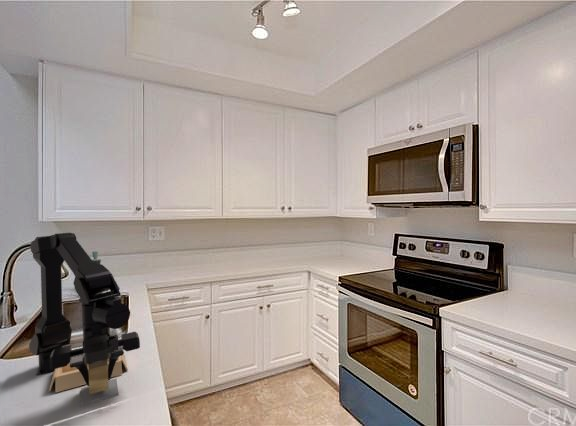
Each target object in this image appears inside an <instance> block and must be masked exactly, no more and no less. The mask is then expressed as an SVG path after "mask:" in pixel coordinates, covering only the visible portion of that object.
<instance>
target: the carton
mask: <svg viewBox="0 0 576 426" xmlns="http://www.w3.org/2000/svg"><path fill="white" fill-rule="evenodd" d="M107 362H108V364H109V358H108V359H107ZM122 365H123V366H124V368H125V370H126V371H128V370H129V368H128V364H127V360H126V355H125V353H124V354H123V355H122V356H119V358H118V359H117V361H116V363H115V366H114V369H113V372H112V375H111V378H114V377H117V376H121V375H123V369H122V368H123V366H122ZM87 367H88V368H89V364H87ZM88 372H89V371H88ZM54 383H55V385H54V388H55V393H59V392H62V391H66V390H70V389H73V388H77V387H80V386H83V385H84V386H85V385H87V384H86V382H85V380H84V378H83V376H82V374H81V372H80V371H79V370H78V369H77V368H76V367H73V368H70V363H69V364H68V365H67V366H65V367H61V368H58V369H57V368H56V369H55V370H54V371H53V372H52V378H51V382H50V386H49V390H48V392H51V390H52V388H53V384H54Z"/></svg>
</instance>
